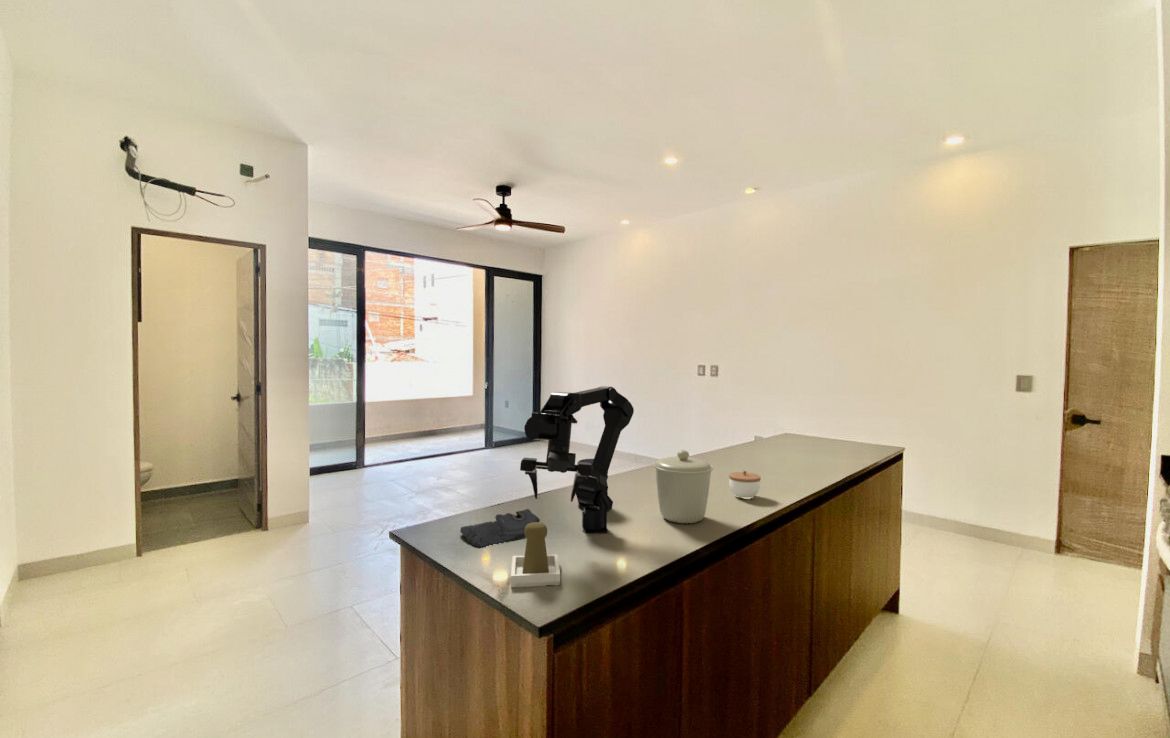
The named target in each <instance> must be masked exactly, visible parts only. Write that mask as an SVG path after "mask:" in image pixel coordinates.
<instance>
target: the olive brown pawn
mask: <svg viewBox="0 0 1170 738" xmlns="http://www.w3.org/2000/svg"><path fill="white" fill-rule="evenodd" d="M524 534H525V537H526V538H525V539H526V543H525V549H524V550H525V551H524V552H525V553H524V556H525V557H524V564H523V572H522V573H523V574H532V573H549V568H548V560H547V555H548V552H547V545H546V544H547V543H546V537H547V535H548V527H547V526H546V524H545V523H543V522H541V521H539V522H532V523H529V524H527V525H526V527H525V530H524Z"/></svg>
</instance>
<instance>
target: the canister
mask: <svg viewBox="0 0 1170 738" xmlns="http://www.w3.org/2000/svg"><path fill="white" fill-rule="evenodd" d="M652 465H653V467H654V469H655V477H656V479H655V480H656V489H657V497H658V498H657V499H658V506H659V511H660V513H661V516H662V517H663V518H664V519H665V520H667V521H669V522H671V523H676V522H677V524H685V523H686V524H688V523H689V524H694V523H698V521H699V522H700V521H702V520H703V519H704V517H705V515H706V512H707V511H706V510H707V506H708V499H709V494H710V493H709V491H710V483H711V477H712V476H711V474H712V471H713V470H714V466H713V464H710V463H709V462H708V461H707V460H704V459H701V458H697V457H690V453H689V451H687V450H685V449H684V450H683V449H680V450H679V451H678V452H677V456H667V457H663V458H660V459H658V460H657V461H655V462H653V464H652Z"/></svg>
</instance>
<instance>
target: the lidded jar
mask: <svg viewBox="0 0 1170 738" xmlns="http://www.w3.org/2000/svg"><path fill="white" fill-rule="evenodd" d="M728 482H729V483H728V484H729V488H730V491H731V493H732V495H734V496H735V495H736V496H739V497H753V498H754V496H755V497H756V496H757V495H758V493H759V491H760V488H761V487H760V486H761V476H760V475H759V474H756V473H753V472H747V470H743V471H735V472H731V473H729V475H728Z"/></svg>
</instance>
